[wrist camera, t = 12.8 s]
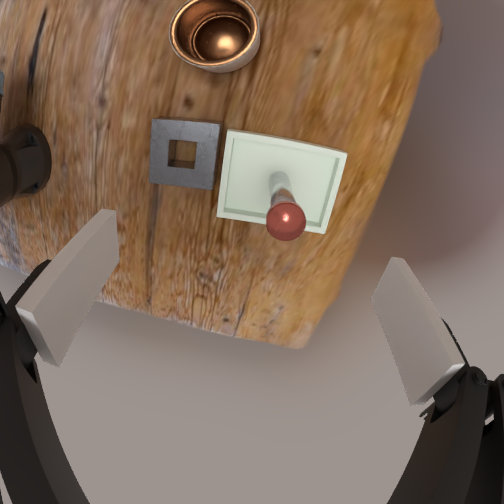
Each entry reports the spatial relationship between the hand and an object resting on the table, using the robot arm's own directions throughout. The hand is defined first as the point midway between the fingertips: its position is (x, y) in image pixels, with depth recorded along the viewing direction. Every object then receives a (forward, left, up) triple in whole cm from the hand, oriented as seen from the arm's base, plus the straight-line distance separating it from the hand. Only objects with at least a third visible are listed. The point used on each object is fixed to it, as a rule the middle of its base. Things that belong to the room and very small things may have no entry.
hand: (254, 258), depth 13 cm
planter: (-8, +15, -33) cm, 37 cm away
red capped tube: (+4, -6, -33) cm, 33 cm away
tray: (+4, -6, -33) cm, 34 cm away
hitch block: (-11, -3, -33) cm, 35 cm away
